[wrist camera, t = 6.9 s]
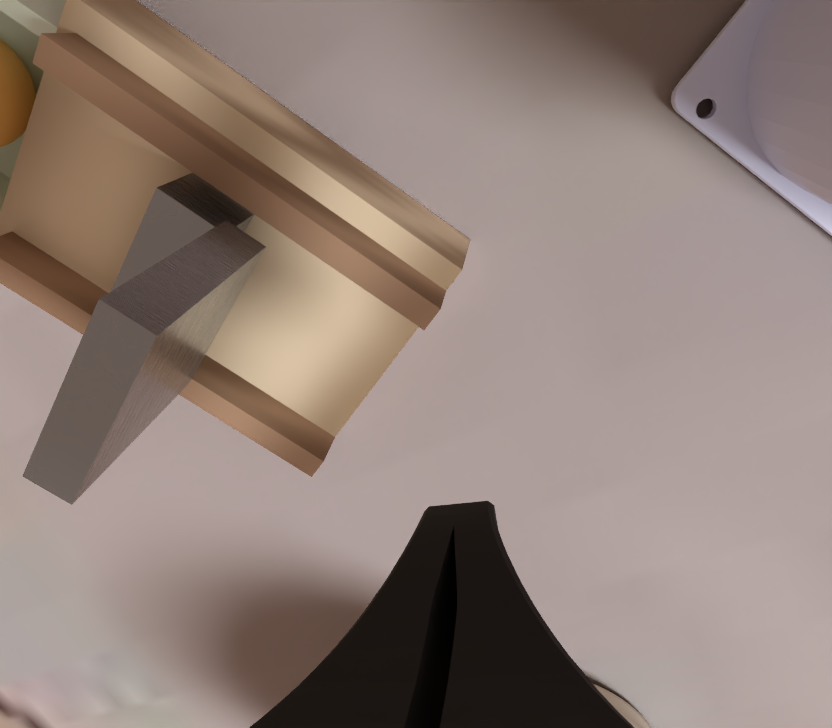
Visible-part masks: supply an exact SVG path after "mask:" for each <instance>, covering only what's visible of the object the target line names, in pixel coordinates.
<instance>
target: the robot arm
mask: <svg viewBox="0 0 832 728" xmlns="http://www.w3.org/2000/svg"><path fill="white" fill-rule="evenodd" d="M708 98H709V99H710V100H711V101H712V103H713V109H712V111H711V112H710V114H708V115H707V116H706V117H701V118H700V117H698V115H697V114H696V107H697V106H698V104H699V102H701V101H702V100H703V99H708ZM671 104H672V107H673V109H674V110H675V111H676V113H678V114H679V115H680V116H681V117H683V118H684V119H685V120H687V121H688V122H689V123H690V124H692V125H693V126H694V127H695V128H697V129H698V130H699V131H700V132H702V133H703V134H704V135H705V136H707V137H708V138H709V139H710V140H712V141H713V142H714V143H715V144H717V145H718V146H719V147H720V148H722V149H723V150H724V151H725V152H727V153H728V154H729V155H730V156H732V157H733V158H734V159H735V160H737V161H738V162H739V163H740V164H742V165H743V166H744V167H745V168H747V169H748V170H749V171H750V172H752V173H753V174H754V175H755V176H757V177H758V178H759V179H760V180H762V181H763V182H764V183H766V184H767V185H768V186H769V187H771V188H772V189H773V190H774V191H776V192H777V193H778V194H779V195H781V196H782V197H783V198H784V199H786V200H787V201H788V202H789V203H791V204H792V205H793V206H794V207H796V208H797V209H798V210H799V211H801V212H802V213H803V214H804V215H806V216H807V217H808V218H809V219H811V220H812V221H813V222H814V223H816V224H817V225H818V226H819V227H821V228H822V229H823V230H824V231H826V232H827V233H828V234H829V235H831V236H832V0H746V1H745V2H744V3H743V4H742V6H741V7H740V8H739V9H738V11H737V12H736V13H735V14H734V15H733V17H732V18H731V19H730V20H729V22H728V23H727V24H726V25H725V26H724V28H723V29H722V30H721V31H720V33H719V34H718V35H717V36H716V37H715V39H714V40H713V41H712V42H711V44H710V45H709V46H708V47H707V48H706V50H705V51H704V52H703V53H702V54H701V56H700V57H699V58H698V59H697V61H696V62H695V63H694V64H693V65H692V67H691V68H690V69H689V70H688V72H687V73H686V74H685V75H684V76H683V78H682V79H681V80H680V81H679V83H678V84H677V85H676V86H675V88H674V90H673V92H672V95H671ZM250 728H634V727H633V726H632V725H631V724H630V723H629V722H628V721H627V720H626V719H625V718H624V717H623V716H622V715H621V714H620V713H619V712H618V711H617V710H616V709H615V708H614V706H613V705H612V704H611V703H610V702H609V701H608V700H607V699H606V698H605V697H604V696H603V695H602V694H601V693H600V692H599V691H598V689H597V688H596V687H595V686H594V685H593V683H592V682H591V681H590V680H589V679H588V678H587V676H586V675H585V674H584V673H583V672H582V670H581V669H580V668H579V667H578V666H577V664H576V663H575V662H574V661H573V660H572V659H571V657H570V656H569V655H568V653H567V652H566V651H565V649H564V648H563V647H562V645H561V644H560V643H559V641H558V640H557V639H556V637H555V636H554V635H553V633H552V632H551V630H550V629H549V627H548V626H547V624H546V623H545V621H544V620H543V618H542V617H541V615H540V614H539V612H538V611H537V609H536V607H535V606H534V604H533V602H532V601H531V599H530V597H529V595H528V594H527V592H526V590H525V588H524V587H523V585H522V583H521V581H520V579H519V577H518V575H517V574H516V571H515V569H514V567H513V565H512V563H511V561H510V559H509V557H508V554H507V552H506V550H505V547H504V545H503V542H502V540H501V537H500V534H499V531H498V526H497V520H496V514H495V508H494V505H493V504H491V503H490V502H489V501H482V502H472V503H461V504H451V505H441V506H430V507H428V508H427V509H426V511H425V512H424V514H423V516H422V518H421V520H420V522H419V524H418V526H417V528H416V530H415V532H414V534H413V535H412V537H411V539H410V541H409V543H408V544H407V546H406V548H405V550H404V552H403V553H402V555H401V557H400V558H399V560H398V562H397V563H396V565H395V566H394V568H393V570H392V571H391V573H390V575H389V576H388V578H387V579H386V581H385V582H384V584H383V585H382V587H381V588H380V590H379V591H378V593H377V594H376V595H375V597H374V598H373V600H372V601H371V603H370V604H369V606H368V607H367V608H366V610H365V611H364V613H363V614H362V615H361V616H360V618H359V619H358V620H357V622H356V623H355V624H354V625H353V627H352V628H351V629H350V630H349V632H348V633H347V634H346V635H345V636H344V638H343V639H342V640H341V641H340V642H339V644H338V645H337V646H336V647H335V648H334V649H333V650H332V651H331V653H330V654H329V655H328V656H327V657H326V658H325V659H324V660H323V661H322V662H321V663H320V664H319V665H318V666H317V668H316V669H315V670H314V671H313V672H312V673H311V674H310V675H309V676H308V677H307V678H306V679H305V680H304V681H303V682H302V683H301V684H300V685H299V686H297V687H296V688H295V689H294V690H293V691H292V692H291V693H290V694H289V695H288V696H286V697H285V698H284V699H283V700H282V701H281V702H280V703H279V704H277V705H276V706H275V707H274V708H273V709H271V710H270V711H269V712H268V713H267V714H266V715H264V716H263V717H262V718H261V719H260V720H258V721H257V722H256V723H255V724H253V725H252V726H251V727H250Z"/></svg>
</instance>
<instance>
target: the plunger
mask: <svg viewBox="0 0 832 728" xmlns="http://www.w3.org/2000/svg"><path fill="white" fill-rule="evenodd" d="M253 216H254V214H253V213H252V212H250V211H249V210H247V209H246V208H244V207H243V206H241V205H240V204H238V203H237V202H235V201H234V200H232V199H231V198H230V197H228V196H227V195H225V194H224V193H222V192H221V191H219V190H218V189H216V188H215V187H213V186H212V185H210V184H209V183H208V182H206V181H205V180H203V179H202V178H200V177H199V176H197V175H196V174H194V173H190V174H188V175H185V176H183V177H181V178H178V179H176V180H173V181H171V182H169V183H166V184H164V185H161V186H159V187H157V188H156V190H155V192H154V194H153V197H152V199H151V201H150V203H149V206H148V208H147V210H146V212H145V215H144V217H143V219H142V222H141V224H140V226H139V228H138V231H137V233H136V235H135V238H134V240H133V242H132V244H131V247H130V249H129V251H128V253H127V256H126V258H125V260H124V263H123V265H122V267H121V269H120V272H119V274H118V276H117V279H116V281H115V283H114V285H113V288H112V290H111V292H109V293H108V294H106V295H104V296H103V297H101V298H100V299H99V300H98V302H97V304H96V307H95V309H94V311H93V314H92V316H91V318H90V321H89V323H88V325H87V328H86V330H85V332H84V335H83V337H82V339H81V342H80V344H79V346H78V348H77V351H76V353H75V355H74V358H73V360H72V362H71V365H70V367H69V369H68V372H67V374H66V376H65V379H64V381H63V383H62V386H61V388H60V390H59V393H58V395H57V397H56V400H55V402H54V404H53V407H52V409H51V411H50V414H49V416H48V418H47V420H46V423H45V425H44V427H43V430H42V432H41V434H40V437H39V439H38V441H37V444H36V446H35V448H34V451H33V453H32V455H31V458H30V460H29V462H28V465H27V467H26V469H25V472H24V474H23V477H25V478H26V479H28V480H30V481H32V482H33V483H35V484H37V485H39V486H40V487H42V488H44V489H46V490H47V491H49V492H51V493H52V494H54V495H56V496H58V497H59V498H61V499H63V500H65V501H66V502H68V503H70V504H71V505H72V504H73V503H74V502H75V501H76V500H77V499H78V498H79V497H80V496H81V495H82V494H83V493H84V492H85V491H86V489H87V488H88V487H89V486H90V485H91V484H92V483H93V482H94V481H95V480H96V479H97V478H98V477H99V476H100V475H101V474H102V473H103V472H104V471H105V470H106V469H107V468H108V467H109V466H110V465H111V464H112V463H113V462H114V460H115V459H116V458H117V457H118V456H119V455H120V454H121V453H122V452H123V451H124V450H125V449H126V448H127V447H128V446H129V445H130V444H131V443H132V442H133V441H134V440H135V439H136V438H137V437H138V436H139V435H140V434H141V433H142V431H143V430H144V429H145V428H146V427H147V426H148V425H149V424H150V423H151V422H152V421H153V420H154V419H155V418H156V417H157V416H158V415H159V414H160V413H161V412H162V411H163V410H164V409H165V408H166V407H167V406H168V405H169V404H170V402H171V401H172V400H173V399H174V398H175V397H176V396H177V395H178V394H179V393H180V392H181V391H182V390H183V389H184V388H185V387H186V386H187V385H188V384H189V383H190V381H191V379H192V377H193V376H194V374H195V372H196V370H197V368H198V367H199V365H200V363H201V361H202V360H203V358H204V356H205V354H206V352H207V351H208V349H209V347H210V345H211V344H212V342H213V340H214V338H215V337H216V335H217V333H218V331H219V329H220V328H221V326H222V324H223V322H224V321H225V319H226V317H227V315H228V313H229V312H230V310H231V308H232V306H233V305H234V303H235V301H236V299H237V297H238V296H239V294H240V292H241V290H242V289H243V287H244V285H245V283H246V282H247V280H248V278H249V276H250V274H251V273H252V271H253V269H254V267H255V266H256V264H257V262H258V260H259V258H260V257H261V255H262V253H263V251H264V250H265V248H266V246H264V245H263V244H261V243H260V242H258V241H257V240H255V239H254V238H253V237H251V236H250V235H248V234H247V233H245V231H246V229H247V227H248V225H249V223H250V221H251V220H252V218H253Z"/></svg>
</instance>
